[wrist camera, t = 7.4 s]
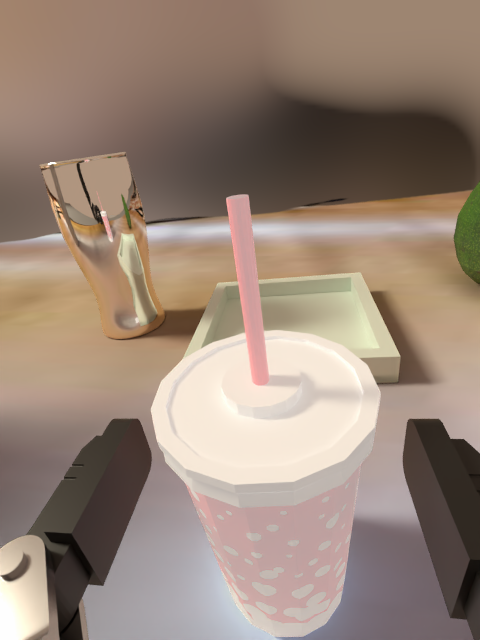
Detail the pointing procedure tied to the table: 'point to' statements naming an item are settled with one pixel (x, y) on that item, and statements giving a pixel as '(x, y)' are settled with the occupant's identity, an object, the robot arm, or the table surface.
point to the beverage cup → (271, 454)
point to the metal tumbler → (107, 239)
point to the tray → (309, 317)
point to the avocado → (469, 235)
